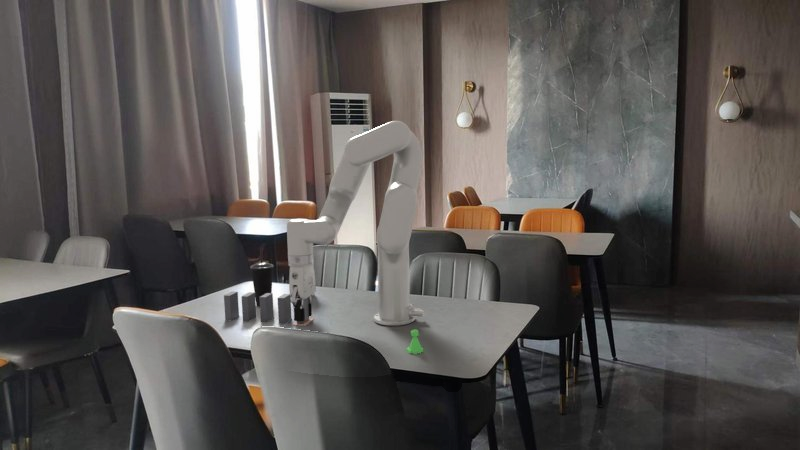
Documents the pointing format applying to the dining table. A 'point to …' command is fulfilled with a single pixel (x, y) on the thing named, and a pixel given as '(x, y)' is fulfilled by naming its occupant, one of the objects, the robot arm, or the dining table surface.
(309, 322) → the head marker
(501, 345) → the dining table surface
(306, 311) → the domino
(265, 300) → the domino
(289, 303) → the domino
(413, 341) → the game piece
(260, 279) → the drinking cup
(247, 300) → the domino
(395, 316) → the robot arm
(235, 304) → the domino
